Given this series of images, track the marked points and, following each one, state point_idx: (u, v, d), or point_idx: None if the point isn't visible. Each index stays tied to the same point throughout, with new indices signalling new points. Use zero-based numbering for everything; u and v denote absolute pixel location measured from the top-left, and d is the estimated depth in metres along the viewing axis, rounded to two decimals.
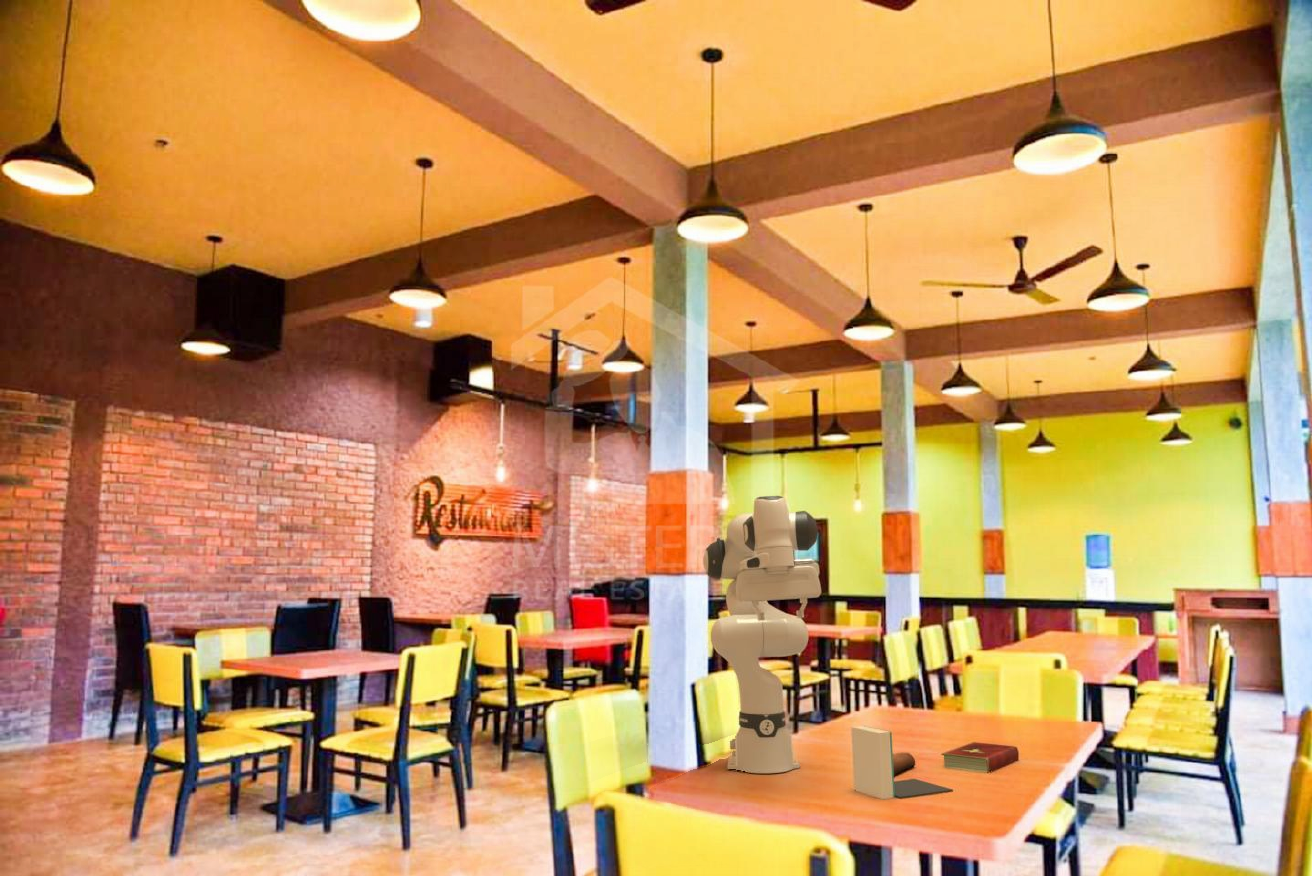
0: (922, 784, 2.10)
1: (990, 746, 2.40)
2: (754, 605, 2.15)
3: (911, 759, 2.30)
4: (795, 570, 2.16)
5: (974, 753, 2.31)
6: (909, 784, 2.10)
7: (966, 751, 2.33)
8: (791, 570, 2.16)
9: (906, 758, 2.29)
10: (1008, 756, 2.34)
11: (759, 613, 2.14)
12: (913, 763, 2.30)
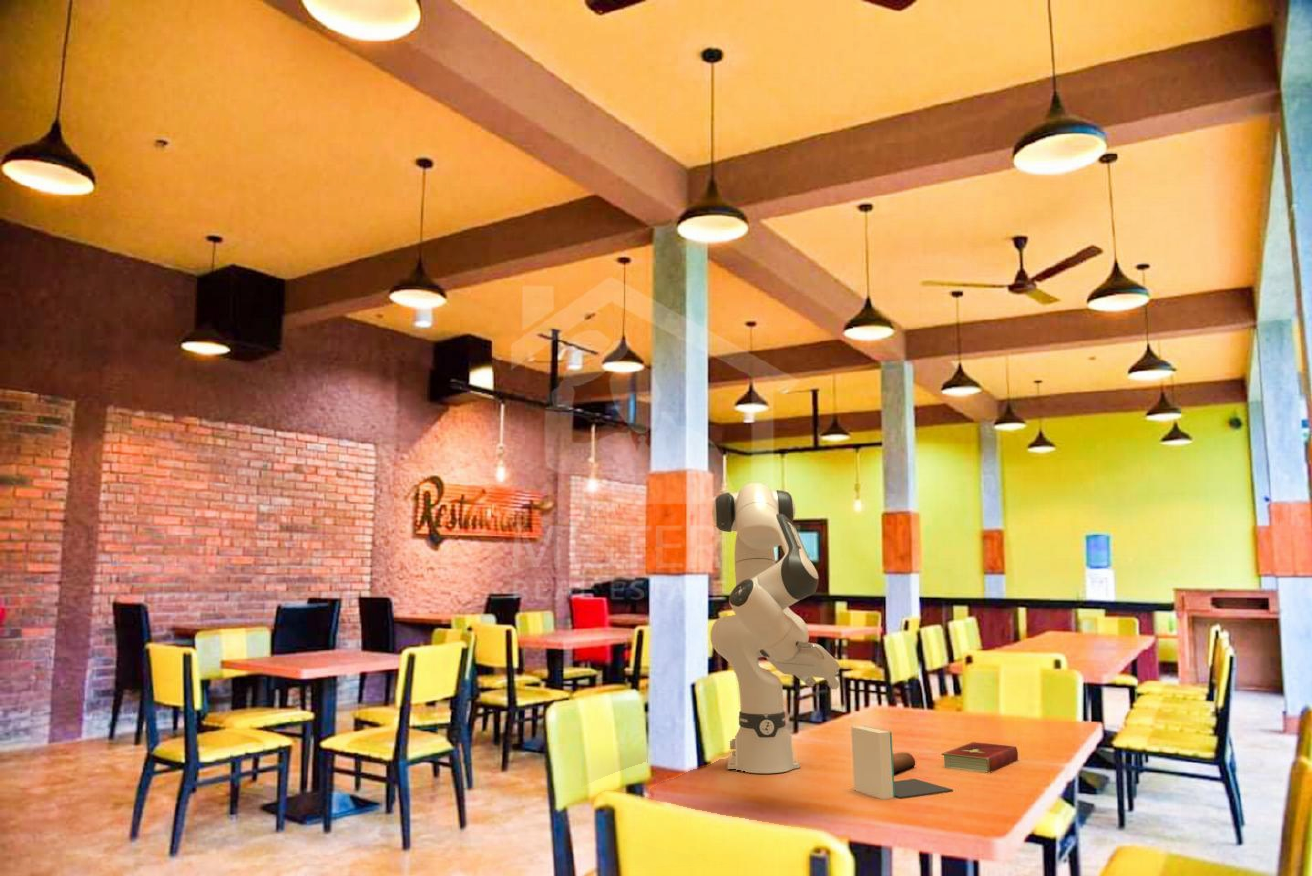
0: (922, 784, 2.10)
1: (989, 746, 2.40)
2: (796, 676, 2.06)
3: (911, 759, 2.30)
4: (799, 657, 1.95)
5: (974, 753, 2.31)
6: (909, 784, 2.10)
7: (966, 751, 2.33)
8: (796, 657, 1.96)
9: (905, 758, 2.29)
10: (1007, 756, 2.34)
11: None
12: (913, 763, 2.30)
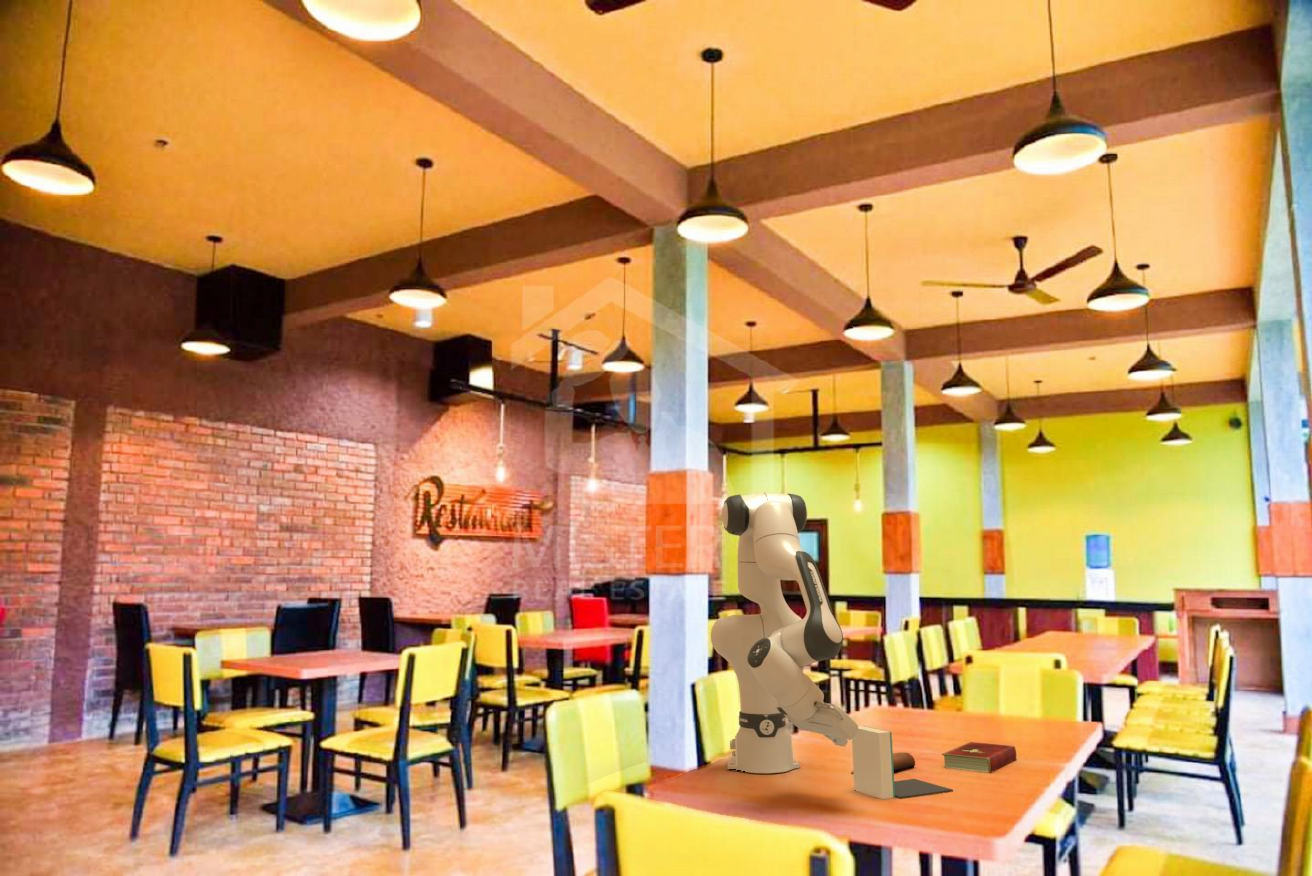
0: (922, 784, 2.10)
1: (988, 746, 2.40)
2: (824, 735, 2.02)
3: (910, 759, 2.30)
4: (817, 717, 1.95)
5: (974, 753, 2.31)
6: (909, 784, 2.10)
7: (966, 751, 2.33)
8: (814, 717, 1.96)
9: (903, 758, 2.29)
10: (1007, 755, 2.34)
11: (832, 741, 2.02)
12: (912, 763, 2.30)
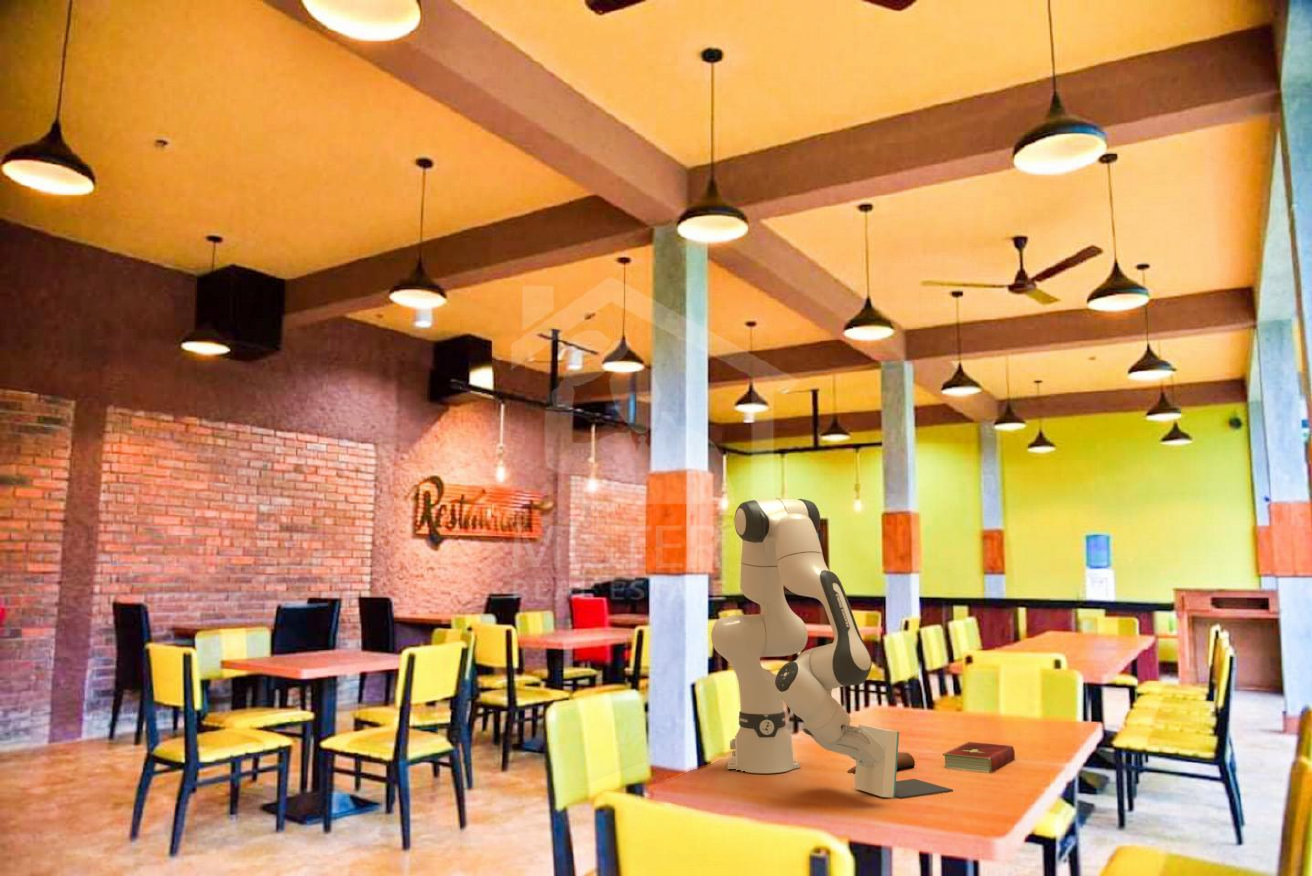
0: (922, 784, 2.10)
1: (987, 746, 2.40)
2: (849, 756, 2.04)
3: (909, 759, 2.30)
4: (844, 740, 1.97)
5: (974, 753, 2.31)
6: (909, 784, 2.10)
7: (966, 751, 2.33)
8: (841, 739, 1.98)
9: (902, 758, 2.29)
10: (1006, 755, 2.34)
11: (858, 762, 2.04)
12: (911, 763, 2.30)
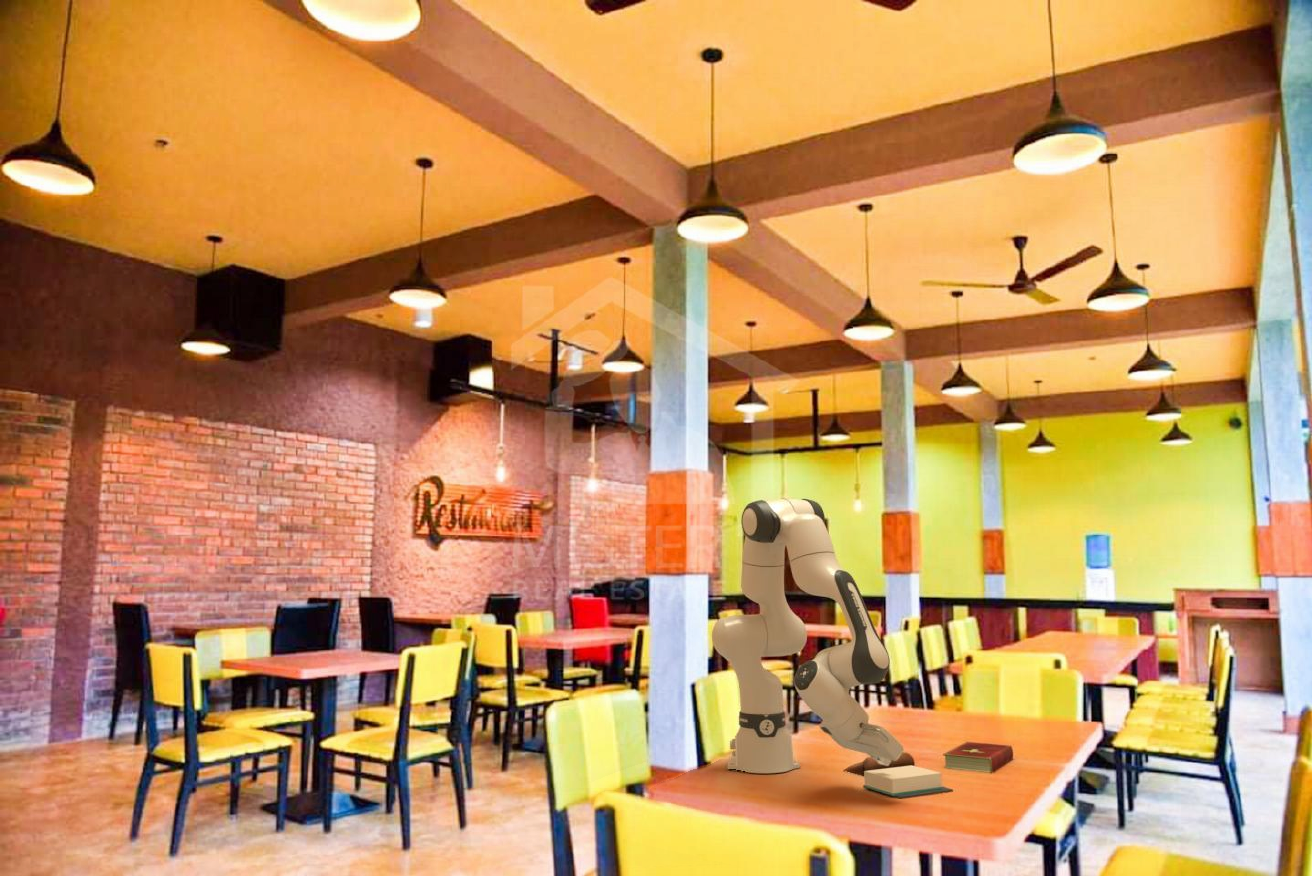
0: None
1: (986, 746, 2.41)
2: (867, 754, 2.07)
3: (908, 759, 2.30)
4: (863, 738, 1.99)
5: (974, 753, 2.31)
6: None
7: (966, 751, 2.33)
8: (860, 737, 2.00)
9: (900, 758, 2.29)
10: (1005, 755, 2.35)
11: (876, 760, 2.06)
12: (910, 763, 2.30)
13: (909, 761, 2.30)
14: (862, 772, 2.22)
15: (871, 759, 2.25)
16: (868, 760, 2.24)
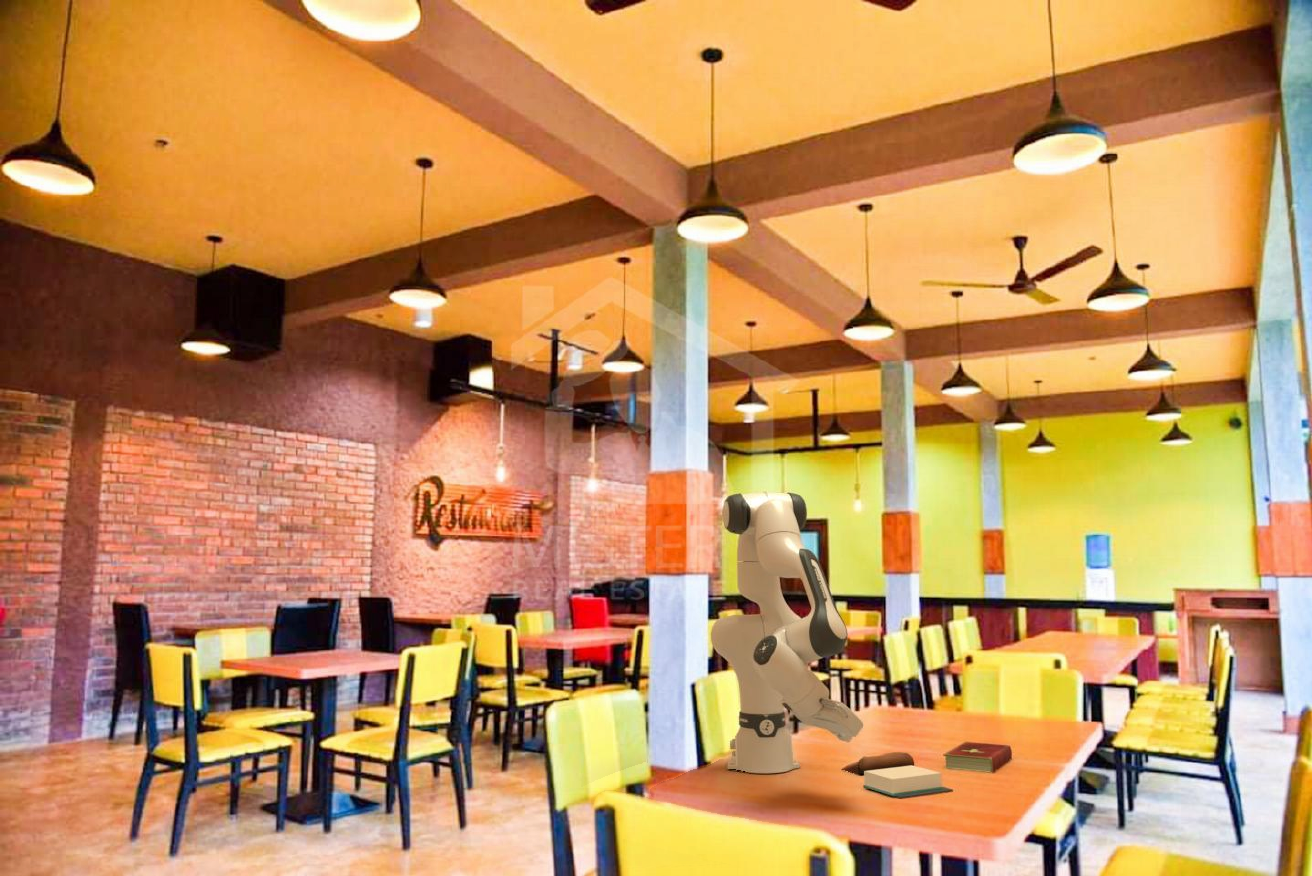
0: None
1: (984, 745, 2.41)
2: (828, 730, 2.04)
3: (907, 759, 2.30)
4: (822, 714, 1.96)
5: (975, 753, 2.31)
6: None
7: (966, 751, 2.32)
8: (820, 713, 1.97)
9: (899, 758, 2.29)
10: (1005, 755, 2.35)
11: (837, 736, 2.03)
12: (909, 763, 2.30)
13: (908, 761, 2.30)
14: (858, 771, 2.23)
15: (868, 758, 2.26)
16: (864, 759, 2.25)
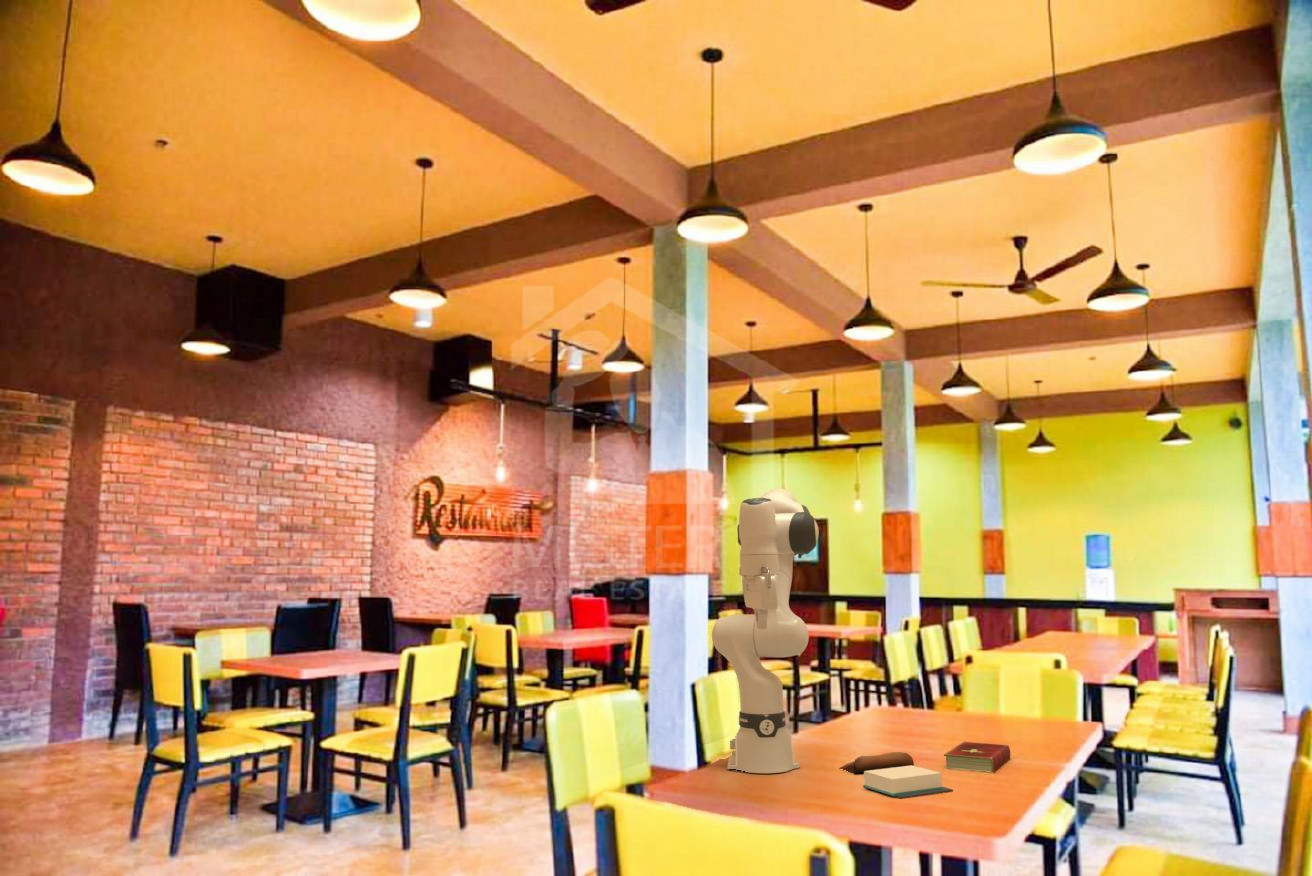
0: None
1: (983, 745, 2.41)
2: (754, 612, 2.09)
3: (906, 759, 2.30)
4: (755, 580, 2.03)
5: (975, 753, 2.31)
6: None
7: (966, 751, 2.32)
8: (754, 579, 2.04)
9: (897, 758, 2.29)
10: (1004, 755, 2.35)
11: (756, 621, 2.07)
12: (909, 764, 2.30)
13: (907, 761, 2.30)
14: (854, 770, 2.25)
15: (865, 758, 2.27)
16: (861, 758, 2.26)
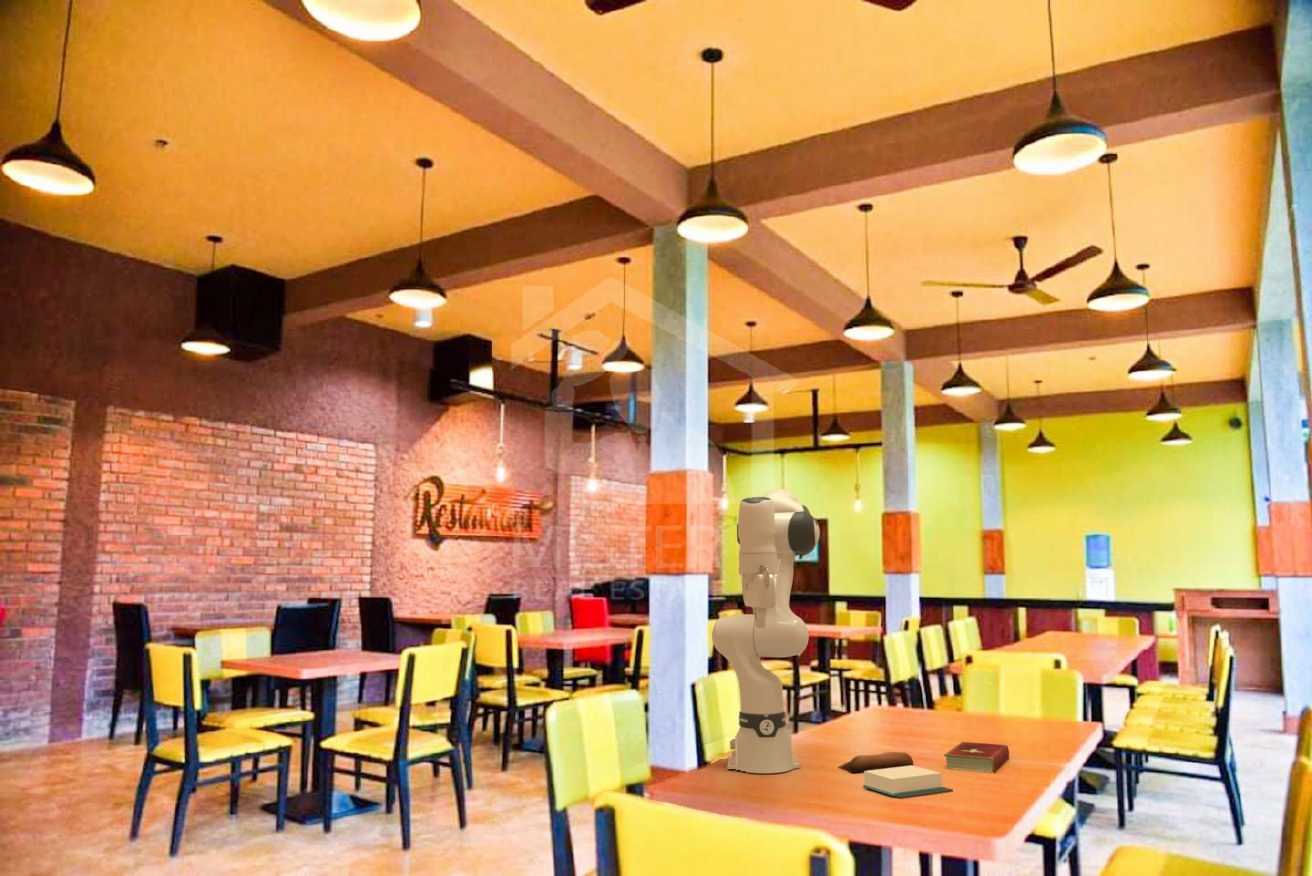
0: None
1: (982, 745, 2.41)
2: (753, 611, 2.09)
3: (905, 759, 2.30)
4: (754, 578, 2.04)
5: (975, 753, 2.31)
6: None
7: (966, 751, 2.32)
8: (753, 578, 2.04)
9: (896, 757, 2.30)
10: (1003, 754, 2.35)
11: (755, 620, 2.07)
12: (908, 764, 2.30)
13: (906, 761, 2.30)
14: (851, 769, 2.26)
15: (862, 757, 2.28)
16: (858, 758, 2.27)
